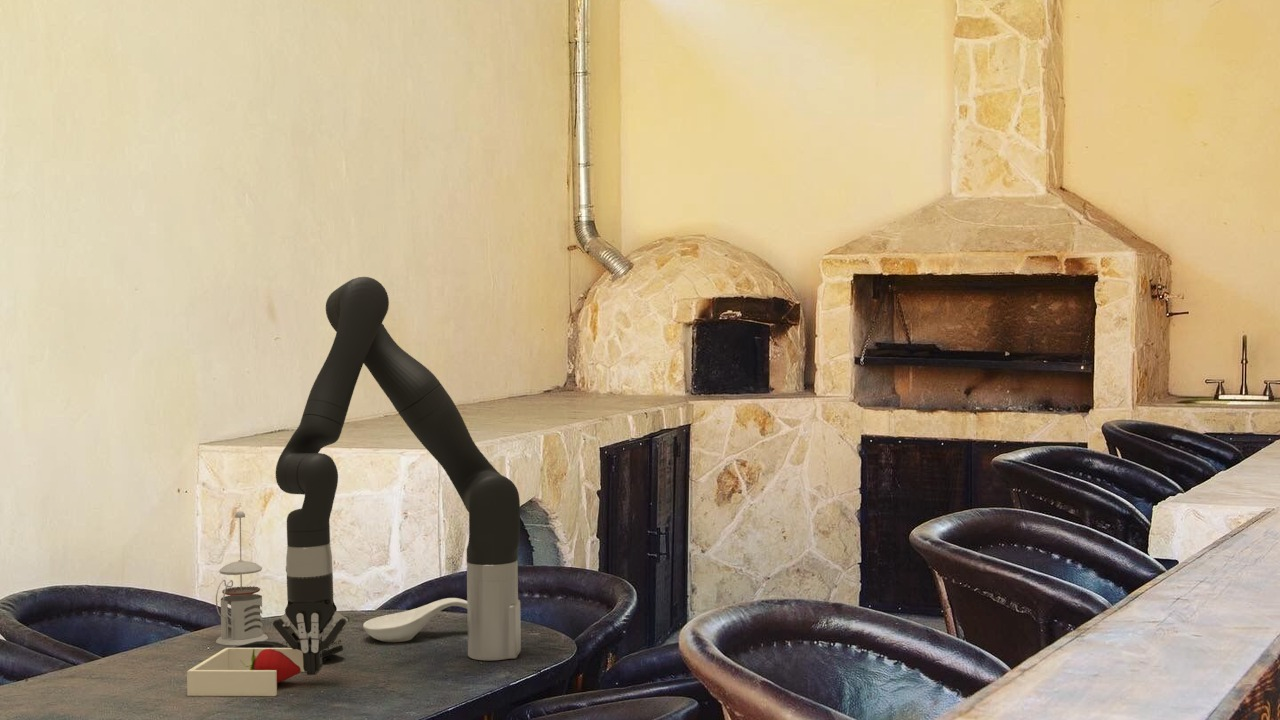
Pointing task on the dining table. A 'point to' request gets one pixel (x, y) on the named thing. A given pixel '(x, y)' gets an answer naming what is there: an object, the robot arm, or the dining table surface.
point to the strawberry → (274, 664)
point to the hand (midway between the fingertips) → (312, 673)
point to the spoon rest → (407, 621)
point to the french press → (240, 605)
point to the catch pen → (236, 674)
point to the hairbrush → (278, 645)
